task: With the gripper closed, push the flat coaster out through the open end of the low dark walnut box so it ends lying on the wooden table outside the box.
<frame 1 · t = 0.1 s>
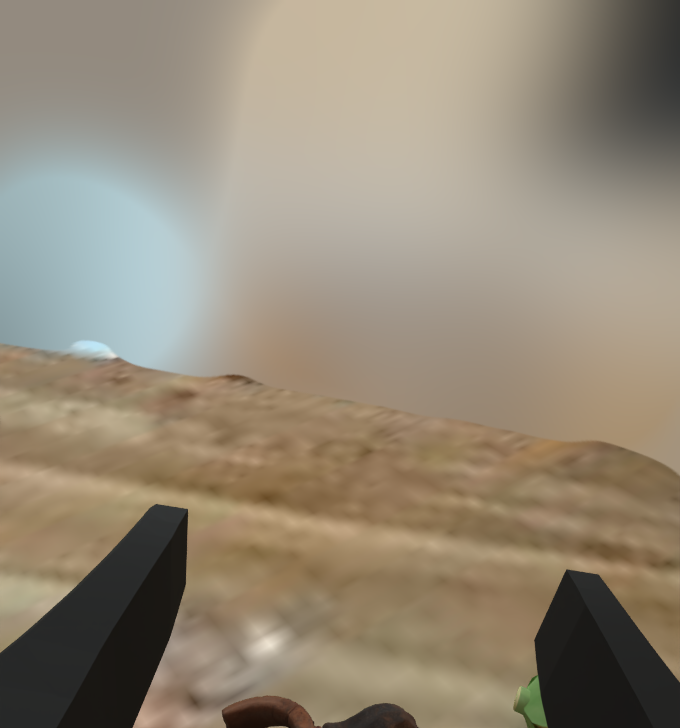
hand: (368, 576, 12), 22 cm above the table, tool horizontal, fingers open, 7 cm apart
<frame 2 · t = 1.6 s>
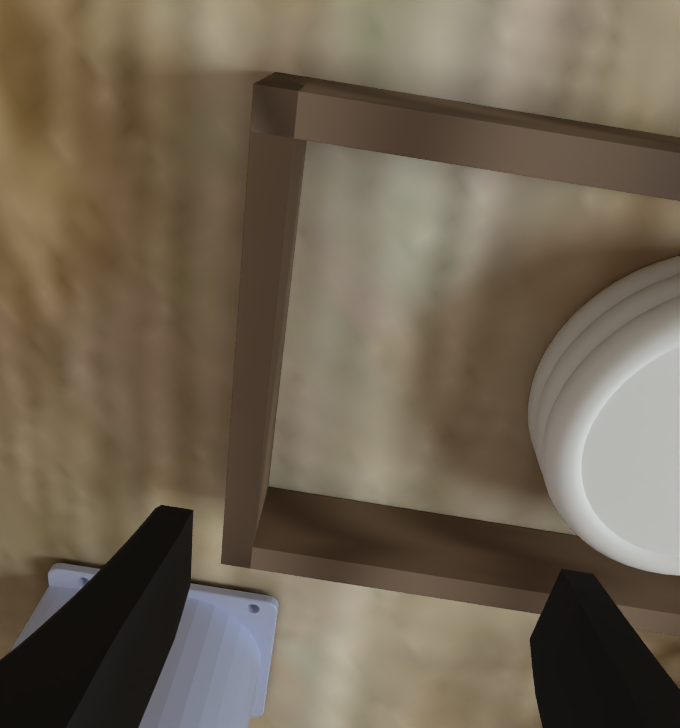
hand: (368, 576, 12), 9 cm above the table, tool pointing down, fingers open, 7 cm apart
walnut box: (562, 376, 20), on the table
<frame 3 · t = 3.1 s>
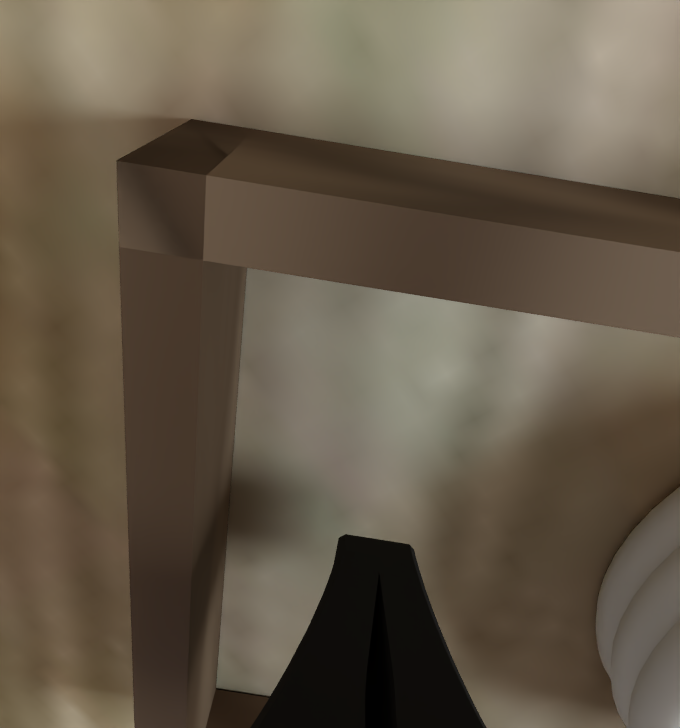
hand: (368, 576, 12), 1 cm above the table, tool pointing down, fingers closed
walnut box: (651, 569, 13), on the table
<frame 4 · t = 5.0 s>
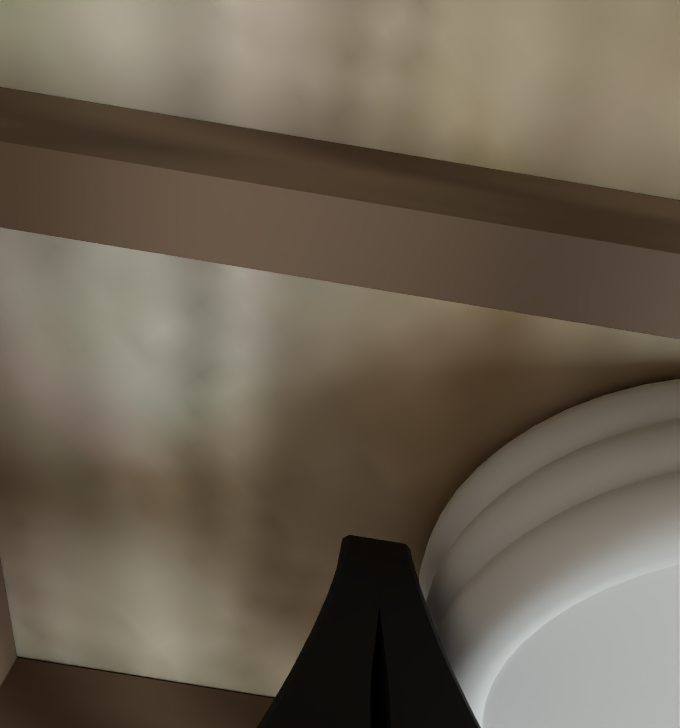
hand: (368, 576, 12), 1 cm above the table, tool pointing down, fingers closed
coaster: (652, 562, 14), on the table, touching gripper
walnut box: (408, 530, 13), on the table
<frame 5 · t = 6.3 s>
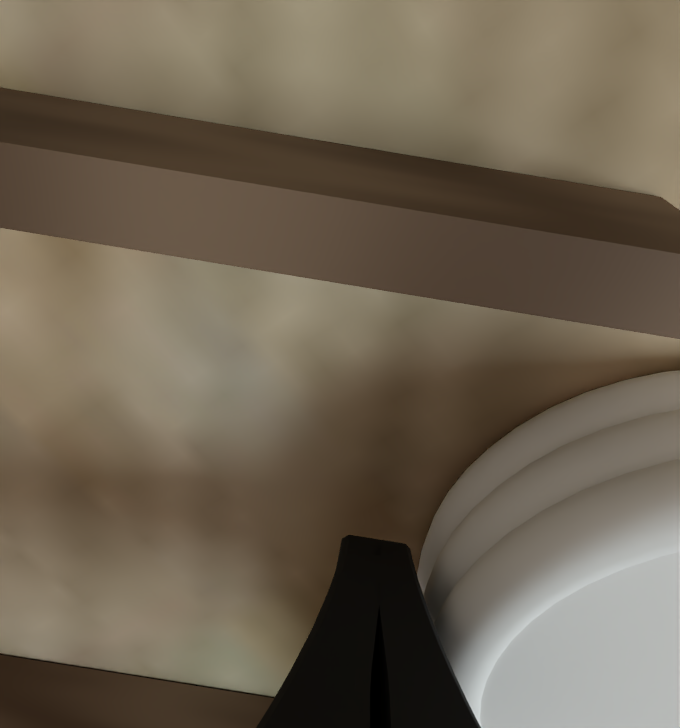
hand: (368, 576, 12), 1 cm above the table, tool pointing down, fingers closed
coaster: (650, 555, 14), on the table, touching gripper
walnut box: (50, 472, 13), on the table
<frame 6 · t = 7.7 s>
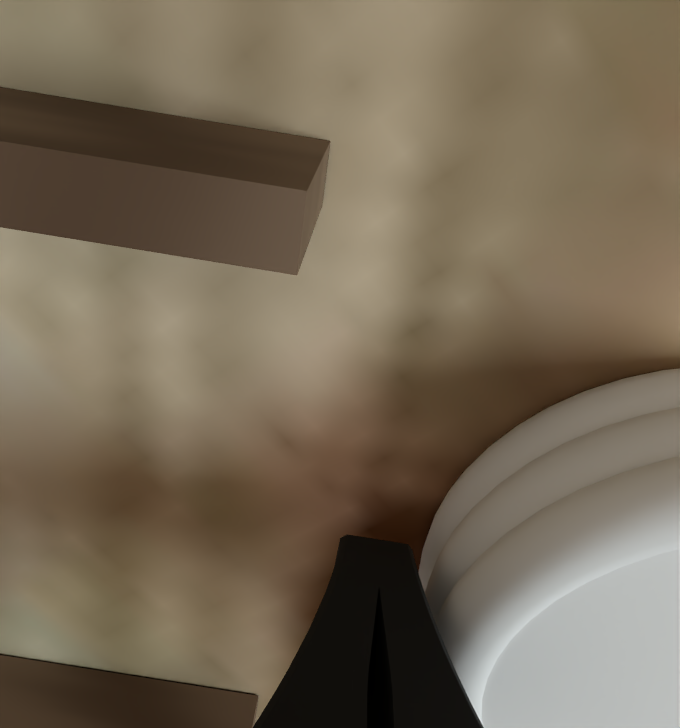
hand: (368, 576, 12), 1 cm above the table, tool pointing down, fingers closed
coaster: (651, 552, 14), on the table, touching gripper
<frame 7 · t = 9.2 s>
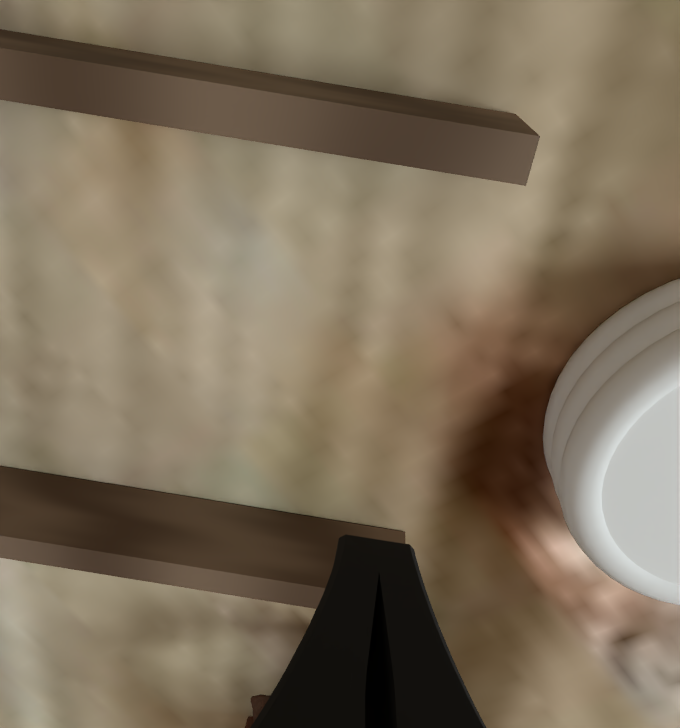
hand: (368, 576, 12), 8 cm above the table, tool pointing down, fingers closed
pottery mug: (359, 704, 28), on the table
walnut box: (118, 322, 19), on the table
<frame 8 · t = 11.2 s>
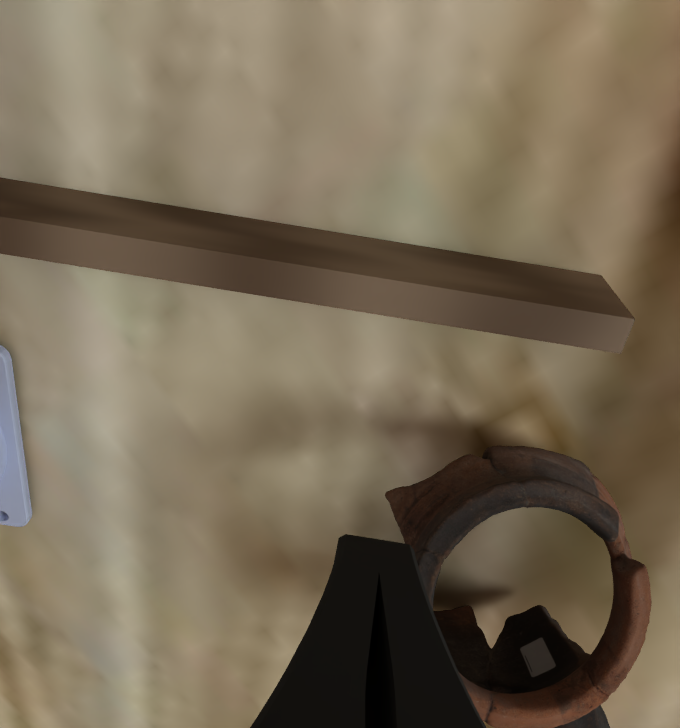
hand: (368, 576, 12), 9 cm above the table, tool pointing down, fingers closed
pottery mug: (485, 538, 24), on the table
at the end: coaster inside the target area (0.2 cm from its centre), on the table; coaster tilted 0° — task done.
